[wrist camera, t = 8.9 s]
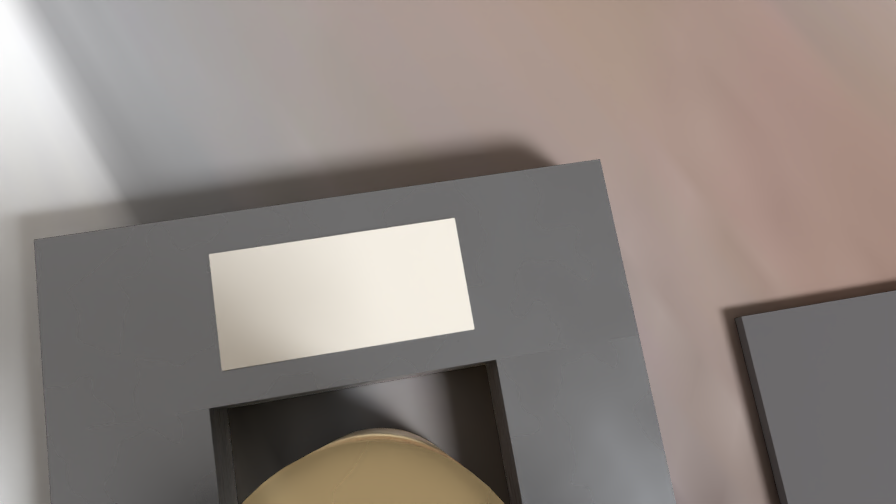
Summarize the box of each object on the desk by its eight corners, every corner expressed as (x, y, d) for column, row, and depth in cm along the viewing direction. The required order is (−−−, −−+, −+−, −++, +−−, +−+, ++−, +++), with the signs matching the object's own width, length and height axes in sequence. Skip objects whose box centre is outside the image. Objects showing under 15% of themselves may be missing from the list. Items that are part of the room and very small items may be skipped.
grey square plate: (1041, 532, 20) (1054, 534, 20) (800, 583, 19) (809, 587, 19) (963, 279, 22) (974, 277, 21) (735, 318, 21) (741, 316, 20)
